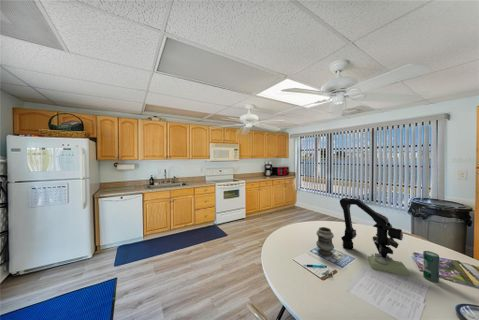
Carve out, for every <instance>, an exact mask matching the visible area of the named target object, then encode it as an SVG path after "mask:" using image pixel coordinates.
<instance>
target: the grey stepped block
mask: <svg viewBox="0 0 479 320" xmlns="http://www.w3.org/2000/svg"><path fill="white" fill-rule="evenodd" d="M374 256H375V257H377V256H378V257H382V256H381V254H379V253H377V252H376V253H374ZM386 258H389V259H390V258H391V257H390V255H389V254H387V256H386Z"/></svg>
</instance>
